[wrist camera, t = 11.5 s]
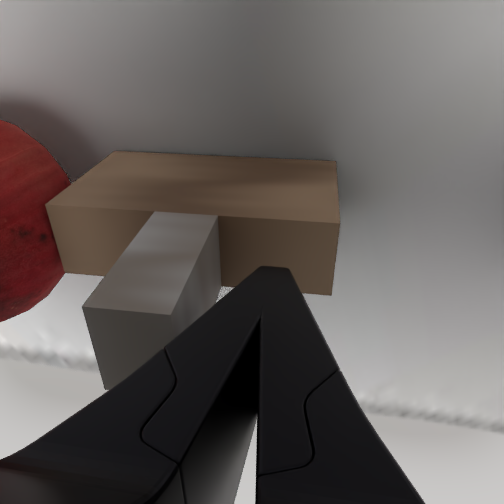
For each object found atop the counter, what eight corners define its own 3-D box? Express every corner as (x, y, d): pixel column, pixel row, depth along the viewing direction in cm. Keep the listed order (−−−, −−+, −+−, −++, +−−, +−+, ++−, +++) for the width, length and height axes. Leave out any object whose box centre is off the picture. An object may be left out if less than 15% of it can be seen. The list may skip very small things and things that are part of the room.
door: (336, 161, 13) (347, 332, 6) (329, 220, 14) (334, 417, 7) (114, 150, 14) (-70, 292, 7) (124, 207, 15) (-28, 373, 8)
